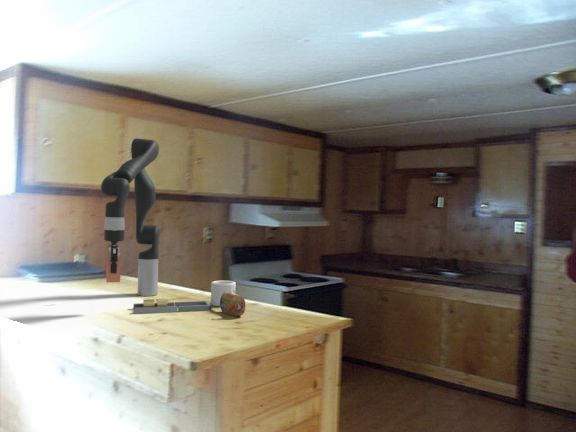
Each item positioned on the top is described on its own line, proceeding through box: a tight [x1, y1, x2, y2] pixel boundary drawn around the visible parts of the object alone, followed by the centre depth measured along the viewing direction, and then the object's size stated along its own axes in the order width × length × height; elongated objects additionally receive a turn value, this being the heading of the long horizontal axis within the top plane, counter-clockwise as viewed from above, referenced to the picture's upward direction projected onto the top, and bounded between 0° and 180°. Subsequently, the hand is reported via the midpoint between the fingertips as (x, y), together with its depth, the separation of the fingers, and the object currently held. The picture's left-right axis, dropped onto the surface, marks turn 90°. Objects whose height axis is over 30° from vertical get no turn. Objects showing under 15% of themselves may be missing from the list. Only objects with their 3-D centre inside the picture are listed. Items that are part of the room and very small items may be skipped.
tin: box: [220, 293, 246, 317], centre depth 195 cm, size 15×3×8 cm, turn 40°
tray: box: [174, 300, 213, 313], centre depth 199 cm, size 10×13×3 cm
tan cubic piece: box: [142, 299, 156, 307], centre depth 193 cm, size 4×4×4 cm
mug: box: [210, 280, 237, 308], centre depth 216 cm, size 14×11×10 cm
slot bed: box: [132, 301, 179, 315], centre depth 194 cm, size 10×16×3 cm, turn 112°
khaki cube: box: [155, 298, 169, 307], centre depth 195 cm, size 4×4×4 cm
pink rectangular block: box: [105, 252, 122, 284], centre depth 192 cm, size 4×5×11 cm
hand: (113, 272), depth 192 cm, fingers closed on pink rectangular block, 3 cm apart
